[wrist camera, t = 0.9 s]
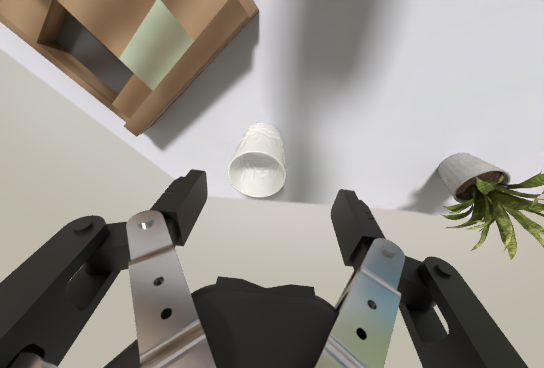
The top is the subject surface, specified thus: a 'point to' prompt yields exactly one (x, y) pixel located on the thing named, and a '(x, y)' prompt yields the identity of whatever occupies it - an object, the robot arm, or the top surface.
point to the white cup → (258, 162)
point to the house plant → (490, 197)
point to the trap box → (129, 46)
